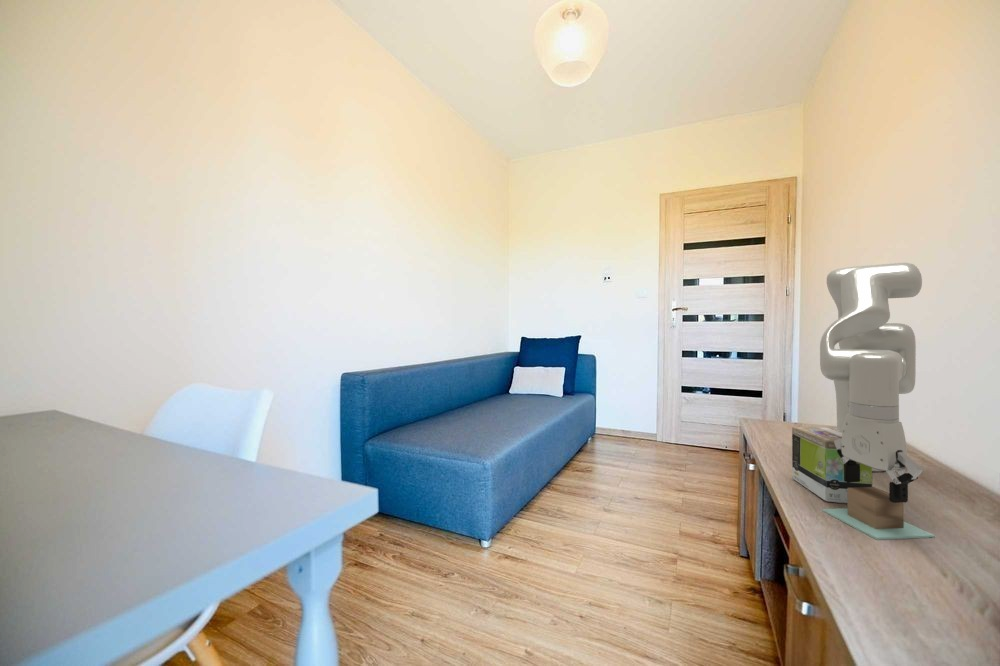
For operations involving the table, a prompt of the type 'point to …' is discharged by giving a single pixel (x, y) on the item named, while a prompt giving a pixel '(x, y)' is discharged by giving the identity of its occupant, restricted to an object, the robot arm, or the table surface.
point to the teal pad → (878, 534)
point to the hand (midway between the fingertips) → (873, 491)
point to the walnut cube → (874, 508)
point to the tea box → (822, 464)
